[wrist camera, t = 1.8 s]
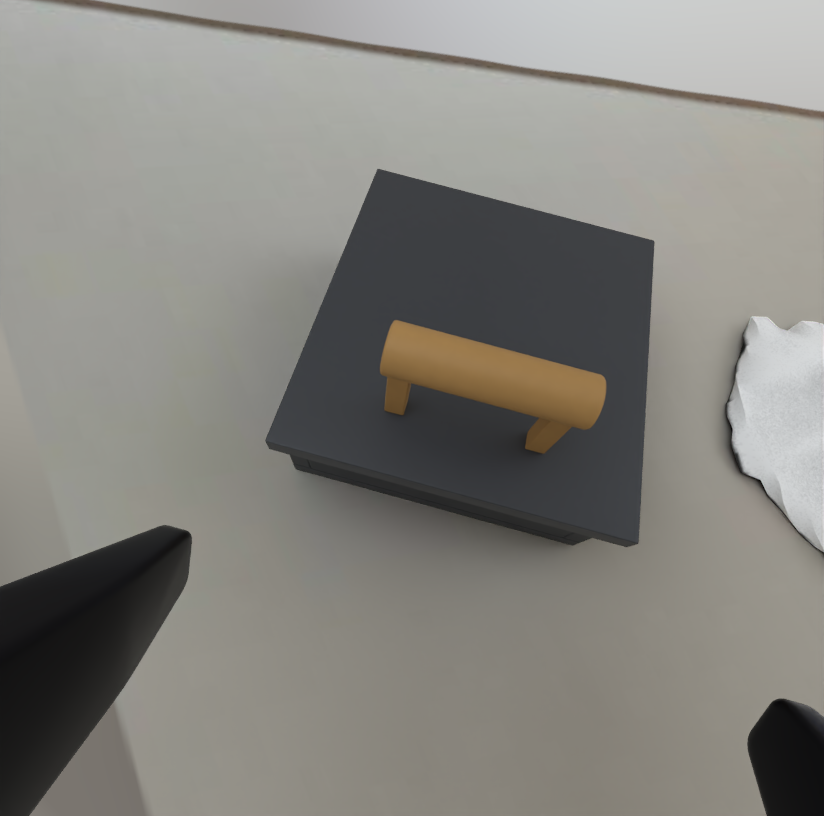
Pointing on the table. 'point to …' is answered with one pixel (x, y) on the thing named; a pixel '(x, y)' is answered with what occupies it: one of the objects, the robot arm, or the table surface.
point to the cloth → (783, 418)
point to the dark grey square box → (437, 501)
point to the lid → (481, 359)
